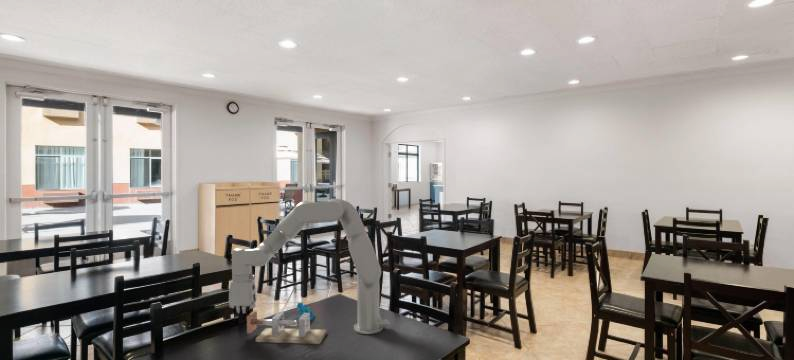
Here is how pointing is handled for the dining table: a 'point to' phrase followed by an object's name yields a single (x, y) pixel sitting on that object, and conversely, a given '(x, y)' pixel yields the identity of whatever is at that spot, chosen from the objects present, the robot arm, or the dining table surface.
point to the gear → (304, 310)
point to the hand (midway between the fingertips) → (242, 321)
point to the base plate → (291, 336)
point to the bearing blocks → (277, 329)
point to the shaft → (264, 322)
